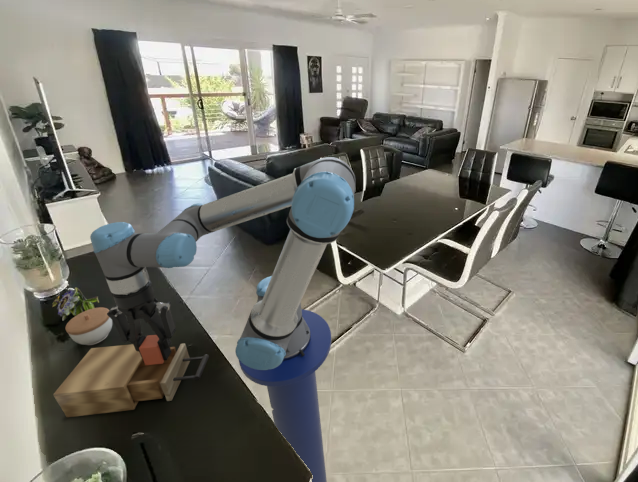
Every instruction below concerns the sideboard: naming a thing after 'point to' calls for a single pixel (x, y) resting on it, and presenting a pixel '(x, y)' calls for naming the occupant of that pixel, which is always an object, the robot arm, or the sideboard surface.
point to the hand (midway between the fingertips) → (157, 356)
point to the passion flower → (73, 303)
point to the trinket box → (90, 326)
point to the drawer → (163, 376)
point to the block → (151, 351)
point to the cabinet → (100, 382)
